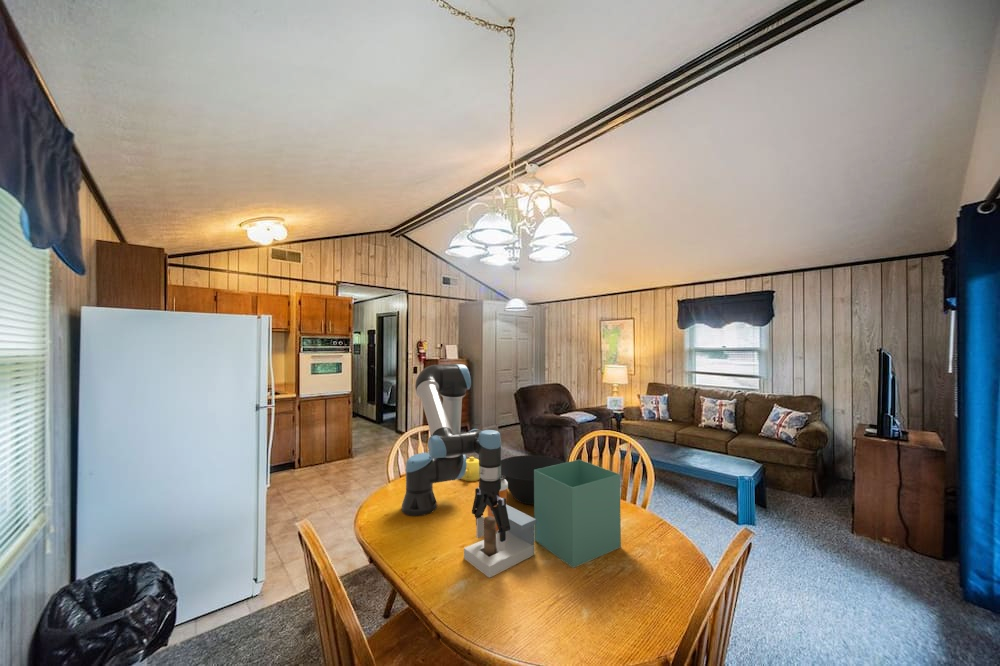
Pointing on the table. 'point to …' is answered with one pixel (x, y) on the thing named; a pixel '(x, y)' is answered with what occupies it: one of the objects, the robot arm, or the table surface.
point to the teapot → (471, 470)
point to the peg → (489, 536)
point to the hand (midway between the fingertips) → (490, 543)
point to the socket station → (516, 545)
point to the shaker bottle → (501, 493)
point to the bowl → (524, 474)
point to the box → (577, 511)
